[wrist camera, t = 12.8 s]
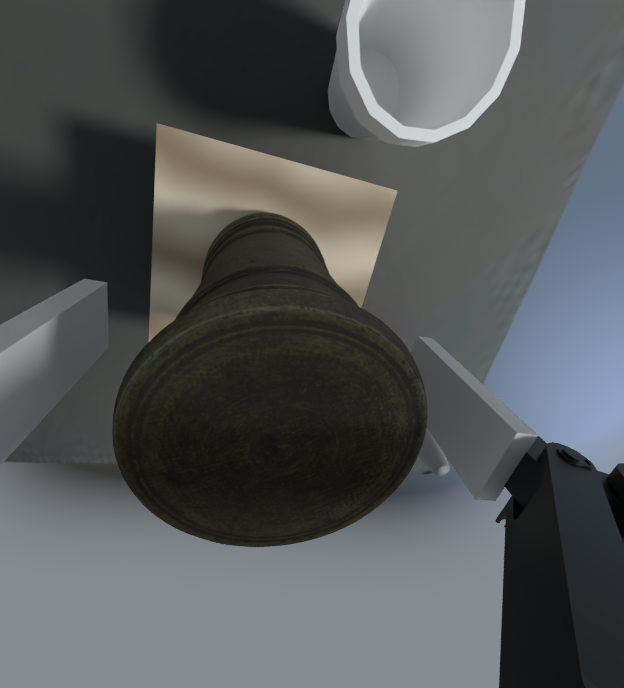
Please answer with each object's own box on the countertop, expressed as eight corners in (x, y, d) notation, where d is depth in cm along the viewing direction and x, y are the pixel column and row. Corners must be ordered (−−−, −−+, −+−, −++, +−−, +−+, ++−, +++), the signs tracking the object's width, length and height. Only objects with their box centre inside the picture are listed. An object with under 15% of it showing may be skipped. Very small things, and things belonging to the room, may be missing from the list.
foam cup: (330, 174, 30) (373, 168, 19) (292, 52, 26) (318, -53, 15) (425, 133, 30) (530, 101, 18) (403, 3, 26) (520, -144, 14)
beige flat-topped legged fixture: (186, 141, 28) (156, 123, 20) (361, 189, 31) (397, 190, 23) (174, 316, 34) (148, 356, 26) (321, 339, 38) (338, 381, 30)
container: (273, 184, 22) (314, 184, 6) (347, 286, 26) (492, 452, 10) (176, 268, 23) (-4, 450, 7) (259, 353, 27) (260, 593, 11)
